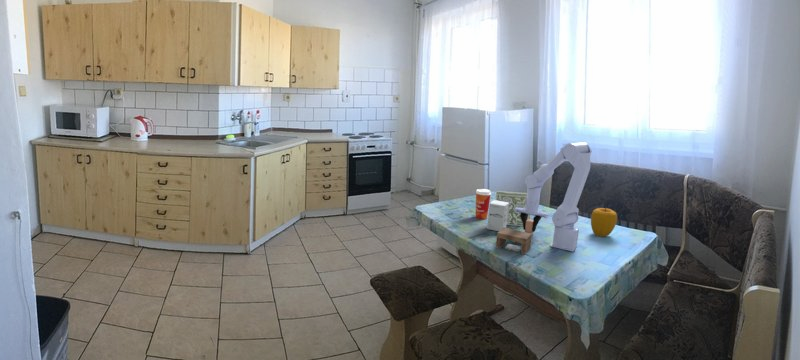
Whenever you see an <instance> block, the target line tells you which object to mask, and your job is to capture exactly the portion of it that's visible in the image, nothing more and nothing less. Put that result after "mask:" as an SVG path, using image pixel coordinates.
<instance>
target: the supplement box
mask: <svg viewBox="0 0 800 360" xmlns="http://www.w3.org/2000/svg"><path fill="white" fill-rule="evenodd" d="M509 204H510V202H507V201H502V200H497V199H494V200H492V201H491V202H489V208H488V215H487V226H486V230H492V231H496V232H499V231H500V230H502V229H503V228H507V223H508V216H509V215H508V214H509V206H510V205H509Z"/></svg>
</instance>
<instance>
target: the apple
mask: <svg viewBox="0 0 800 360" xmlns="http://www.w3.org/2000/svg"><path fill="white" fill-rule="evenodd" d="M617 221H618V213H617V212H616V211H614V210H612V209H611V208H607V207H605V208H604V207H597V208H595V209H594V210H593V211H592V213H591V216H590V226H591V230H592V233H593V235H595V236H597V237H601V238H603V237H604V238H605V237H608V236H609V235H610V234H611V233H612V232H613V231H614V229H615V227H616V226H617Z"/></svg>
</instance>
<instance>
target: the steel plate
mask: <svg viewBox="0 0 800 360" xmlns="http://www.w3.org/2000/svg"><path fill="white" fill-rule="evenodd" d="M504 249H505V250H509V251H513V252H518V251H520V249H522V245H521V246H520V245H518V244H516V245H515V244H512V243H508V244H507V245H505V247H504Z"/></svg>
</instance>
